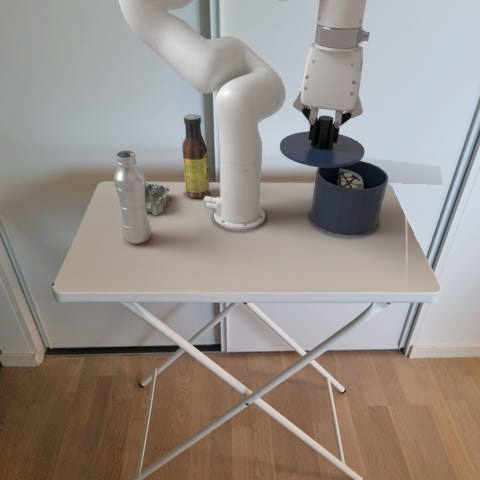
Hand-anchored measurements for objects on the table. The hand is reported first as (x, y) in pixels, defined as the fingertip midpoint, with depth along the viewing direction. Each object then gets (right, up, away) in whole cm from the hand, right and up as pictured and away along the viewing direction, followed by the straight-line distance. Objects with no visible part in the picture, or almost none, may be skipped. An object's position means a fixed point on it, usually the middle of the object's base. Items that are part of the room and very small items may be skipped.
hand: (322, 144), depth 91 cm
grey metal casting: (-39, -5, +28) cm, 48 cm away
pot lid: (0, -1, +1) cm, 1 cm away
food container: (+10, -9, +24) cm, 27 cm away
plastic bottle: (-40, -16, +16) cm, 46 cm away
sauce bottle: (-28, -1, +33) cm, 43 cm away
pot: (+9, -10, +24) cm, 28 cm away
